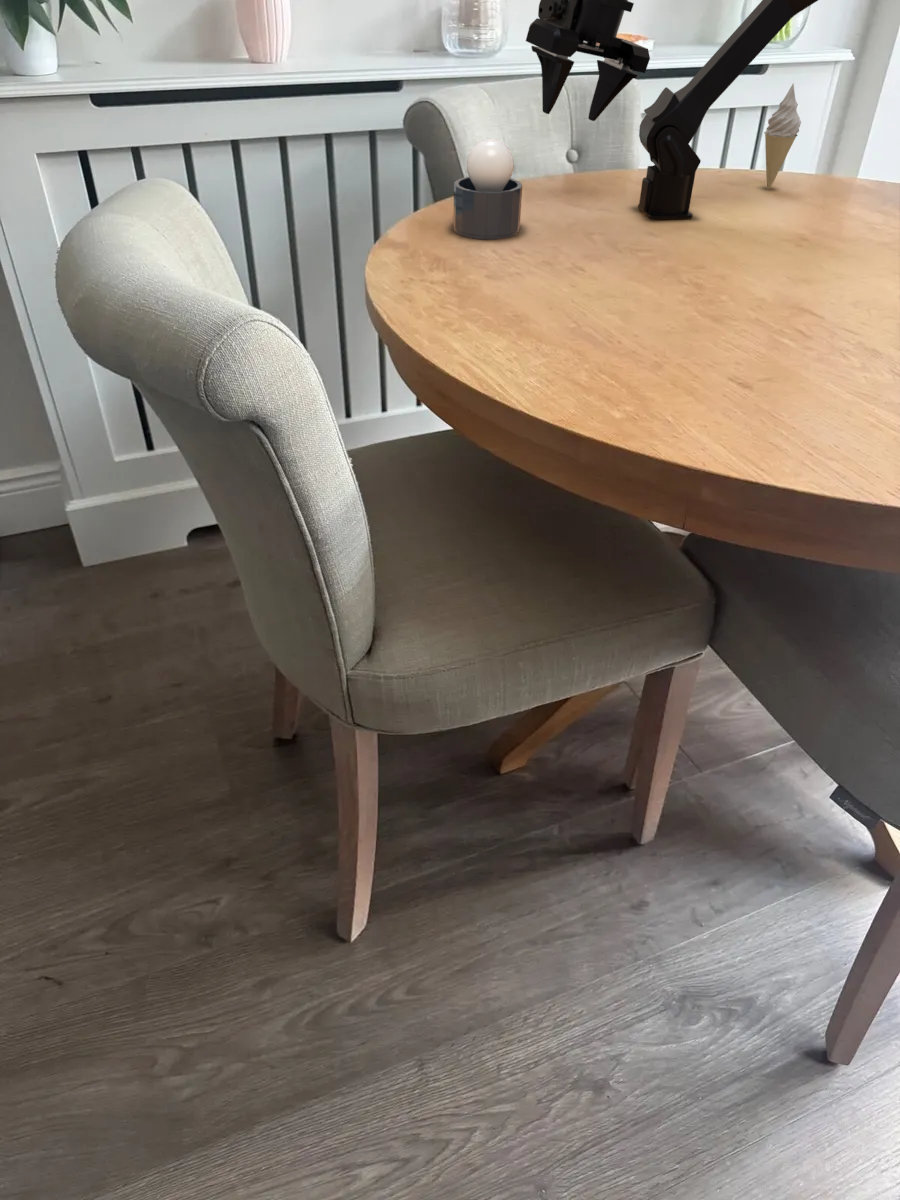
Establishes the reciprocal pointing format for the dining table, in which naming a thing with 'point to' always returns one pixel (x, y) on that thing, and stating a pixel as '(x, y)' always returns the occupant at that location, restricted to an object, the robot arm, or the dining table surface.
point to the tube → (487, 210)
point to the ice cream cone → (781, 135)
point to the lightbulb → (490, 165)
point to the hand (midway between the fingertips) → (569, 116)
